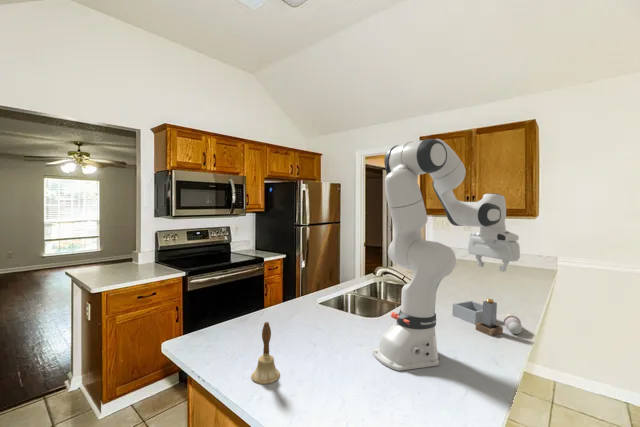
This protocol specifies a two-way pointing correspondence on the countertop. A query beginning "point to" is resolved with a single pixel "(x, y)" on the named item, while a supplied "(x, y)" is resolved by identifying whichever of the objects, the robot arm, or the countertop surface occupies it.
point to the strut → (489, 314)
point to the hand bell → (265, 362)
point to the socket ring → (489, 331)
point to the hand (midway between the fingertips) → (491, 268)
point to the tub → (468, 311)
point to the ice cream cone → (512, 323)
